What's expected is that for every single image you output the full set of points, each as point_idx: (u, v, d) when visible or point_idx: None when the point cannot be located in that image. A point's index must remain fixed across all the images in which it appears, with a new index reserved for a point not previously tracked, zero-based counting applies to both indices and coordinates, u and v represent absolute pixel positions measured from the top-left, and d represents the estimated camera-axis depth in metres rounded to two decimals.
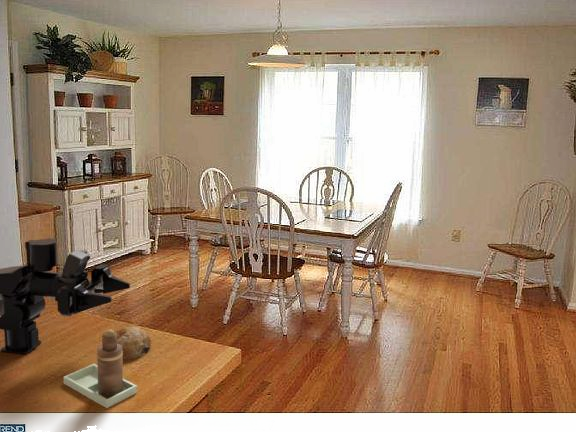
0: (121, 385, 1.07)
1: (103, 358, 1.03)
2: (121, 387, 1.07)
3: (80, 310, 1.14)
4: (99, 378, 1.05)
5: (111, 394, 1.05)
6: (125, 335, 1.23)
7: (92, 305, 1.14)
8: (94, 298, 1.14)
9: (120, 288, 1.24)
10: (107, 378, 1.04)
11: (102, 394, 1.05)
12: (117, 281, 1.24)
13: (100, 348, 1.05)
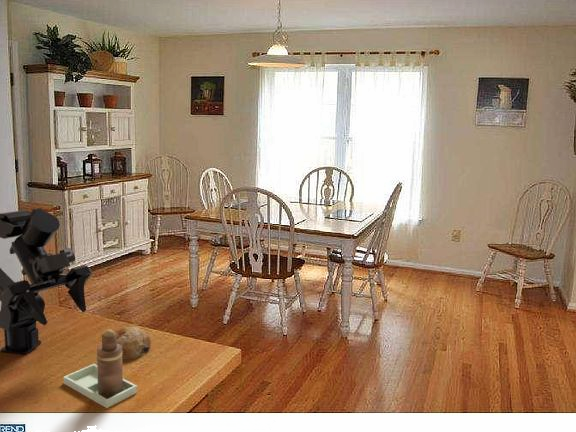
0: (121, 385, 1.07)
1: (103, 358, 1.03)
2: (121, 387, 1.07)
3: (19, 308, 1.10)
4: (99, 378, 1.05)
5: (111, 394, 1.05)
6: (125, 335, 1.23)
7: (29, 314, 1.10)
8: (34, 312, 1.09)
9: (78, 305, 1.18)
10: (107, 378, 1.04)
11: (102, 394, 1.05)
12: (79, 298, 1.17)
13: (100, 348, 1.05)
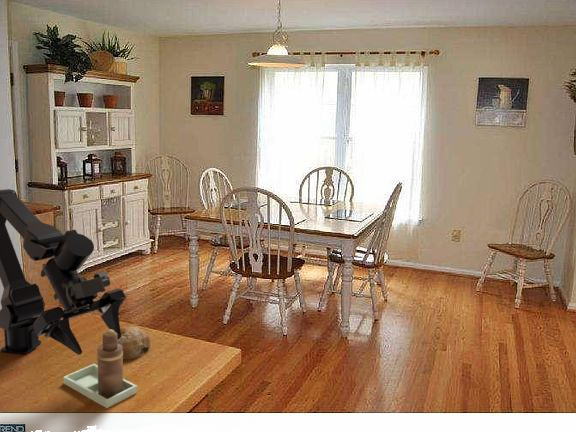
0: (121, 385, 1.07)
1: (104, 358, 1.03)
2: (121, 387, 1.07)
3: (52, 336, 1.04)
4: (99, 378, 1.05)
5: (111, 394, 1.05)
6: (124, 335, 1.23)
7: (63, 343, 1.04)
8: (68, 341, 1.03)
9: None
10: (107, 378, 1.04)
11: (102, 394, 1.05)
12: (114, 324, 1.11)
13: (100, 348, 1.05)
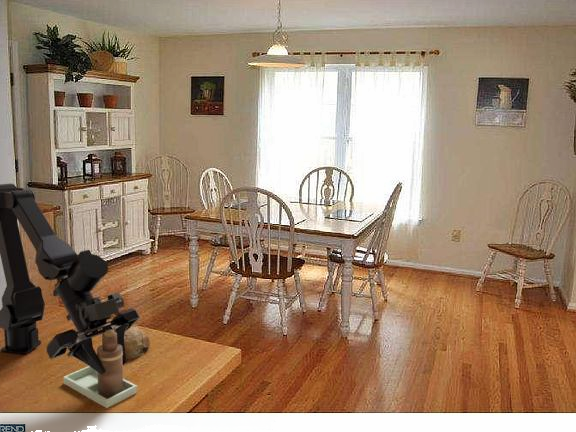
0: (121, 385, 1.07)
1: (103, 358, 1.03)
2: (121, 387, 1.07)
3: (75, 355, 1.04)
4: (99, 378, 1.05)
5: (111, 394, 1.05)
6: (124, 334, 1.23)
7: (86, 362, 1.04)
8: (91, 360, 1.03)
9: None
10: (107, 378, 1.04)
11: (102, 394, 1.05)
12: None
13: (100, 348, 1.05)
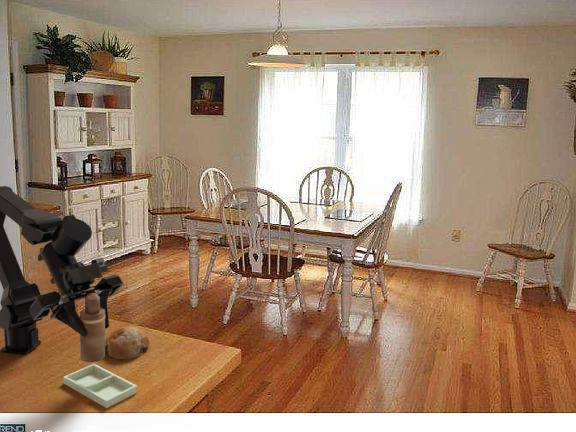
0: (103, 348, 1.08)
1: (86, 320, 1.05)
2: (103, 350, 1.09)
3: (58, 318, 1.06)
4: (81, 340, 1.06)
5: (93, 356, 1.07)
6: (123, 335, 1.23)
7: (68, 324, 1.06)
8: (73, 322, 1.05)
9: None
10: (89, 340, 1.06)
11: (84, 356, 1.07)
12: None
13: (83, 311, 1.07)
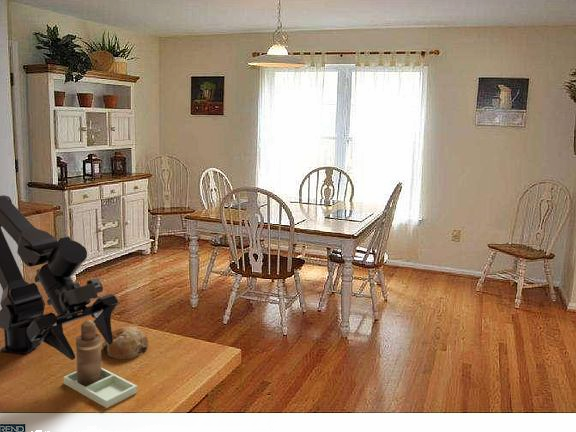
0: (99, 373, 1.10)
1: (82, 347, 1.07)
2: (100, 376, 1.11)
3: (46, 341, 1.06)
4: (78, 367, 1.09)
5: (89, 382, 1.09)
6: (122, 334, 1.23)
7: (57, 348, 1.06)
8: (61, 346, 1.05)
9: (104, 336, 1.13)
10: (85, 366, 1.08)
11: (81, 382, 1.09)
12: (106, 330, 1.13)
13: (79, 338, 1.09)
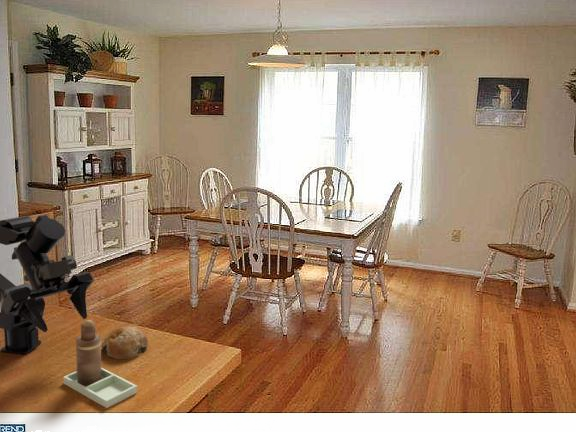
0: (99, 373, 1.10)
1: (82, 347, 1.07)
2: (100, 376, 1.11)
3: (20, 315, 1.11)
4: (78, 367, 1.09)
5: (89, 382, 1.09)
6: (122, 334, 1.23)
7: (30, 321, 1.11)
8: (35, 319, 1.10)
9: (79, 311, 1.18)
10: (85, 366, 1.08)
11: (81, 382, 1.09)
12: (81, 305, 1.18)
13: (79, 338, 1.09)
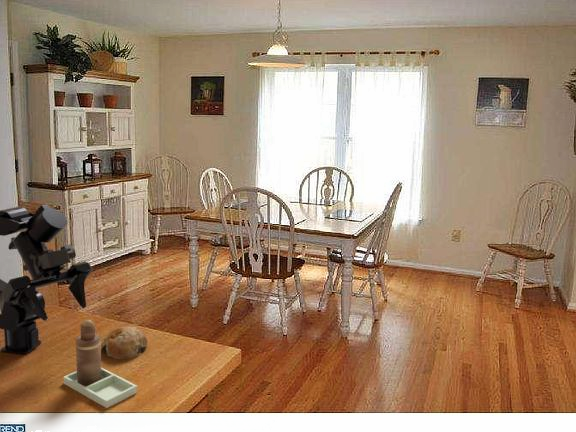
0: (99, 373, 1.10)
1: (82, 347, 1.07)
2: (100, 376, 1.11)
3: (20, 303, 1.12)
4: (78, 367, 1.09)
5: (89, 382, 1.09)
6: (121, 334, 1.23)
7: (30, 309, 1.11)
8: (35, 307, 1.11)
9: (78, 301, 1.19)
10: (85, 366, 1.08)
11: (81, 382, 1.09)
12: (80, 294, 1.19)
13: (79, 338, 1.09)
